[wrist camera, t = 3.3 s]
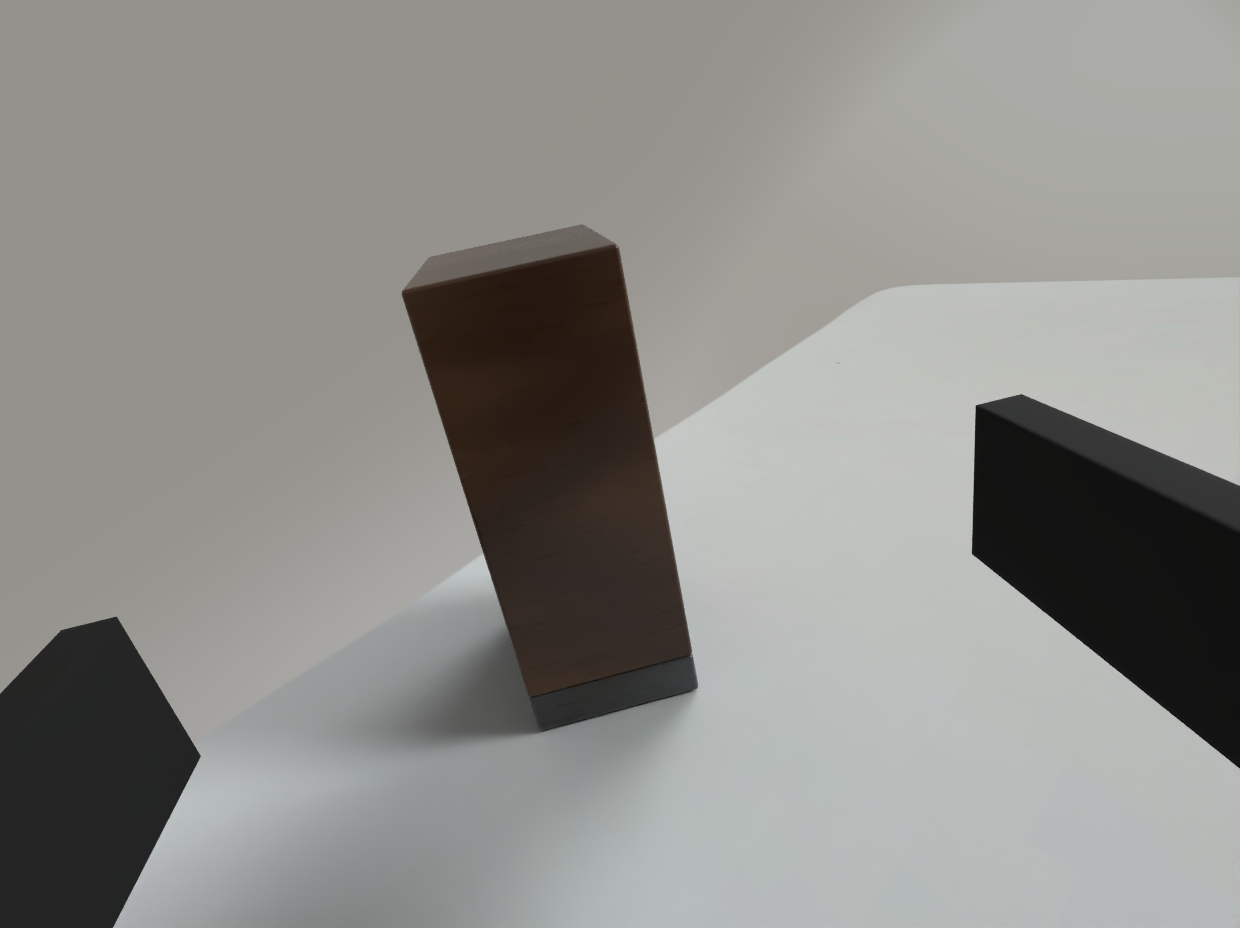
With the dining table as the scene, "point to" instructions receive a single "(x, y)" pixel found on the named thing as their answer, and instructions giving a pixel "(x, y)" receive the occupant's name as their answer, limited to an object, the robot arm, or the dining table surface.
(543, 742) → the dining table surface
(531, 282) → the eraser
